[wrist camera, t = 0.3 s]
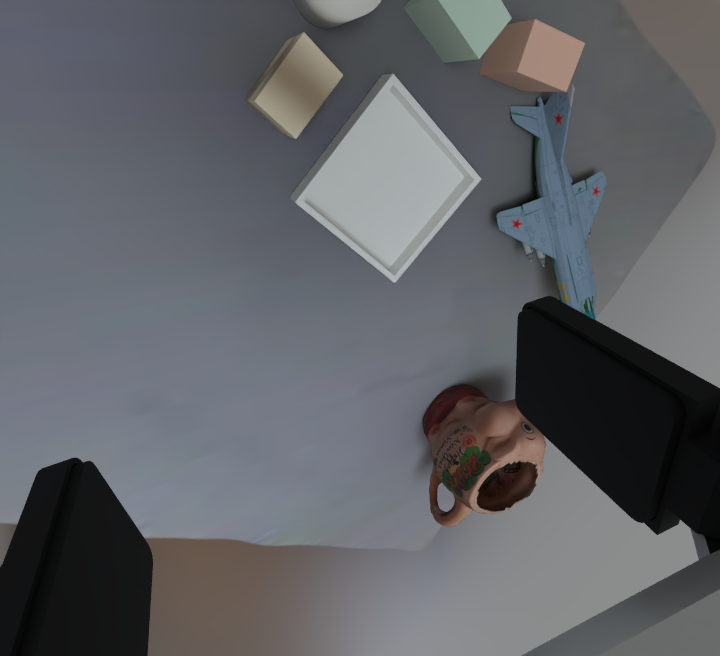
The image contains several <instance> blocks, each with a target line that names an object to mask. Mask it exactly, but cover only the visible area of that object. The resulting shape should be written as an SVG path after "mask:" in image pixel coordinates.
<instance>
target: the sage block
mask: <svg viewBox="0 0 720 656" xmlns="http://www.w3.org/2000/svg"><path fill="white" fill-rule="evenodd" d="M404 10H405V11H406V12H407V14H408V15H409V16H410V18H411V19H412V21H413V22H414V23H415V25H416V26H417V27H418V29H419V30H420V31H421V33H422V34H423V35H424V37H425V38H426V39H427V41H428V42H429V43H430V45H431V46H432V47H433V49H434V50H435V51H436V53H437V54H438V55H439V57H440V58H441V59H442V61H443V62H444V63H448V62H458V61H468V60H478V59H480V58H481V56H482V55H483V54H484V53H485V51H486V50H487V49H488V48H489V46H490V45H491V44H492V43H493V41H494V40H495V39H496V37H497V36H498V35H499V34H500V32H501V31H502V30H503V29H504V27H505V26H506V25H507V24H508V22H509V21H510V20H511V19H512V18H511V16H510V14H509V13H508V11H507V9H506V8H505V6H504V4H503V3H502V1H501V0H409V2H408V3H407V4H406V6H405V7H404Z"/></svg>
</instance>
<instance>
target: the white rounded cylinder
mask: <svg viewBox="0 0 720 656" xmlns="http://www.w3.org/2000/svg"><path fill="white" fill-rule="evenodd" d="M294 2H295V5H296V7H297V9H298V10H299V12H300V13H301V15H302V16H303V17H304V18H305V19H306V20H307V21H308V22H310V23H311V24H313V25H314V26H317V27H320V28H326V29H328V28H334V27H337V26H339V25H342V24H344V23H347V22H349V21H352V20H354V19H356V18H359V17H361V16H364V15H366V14H368V13H370V12H371V11H373V10H374V9H375V8H376V7H377V6H378V4H379V3H380V2H381V0H294Z"/></svg>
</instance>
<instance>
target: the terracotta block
mask: <svg viewBox="0 0 720 656" xmlns="http://www.w3.org/2000/svg"><path fill="white" fill-rule="evenodd" d="M584 45H585V43H584V42H582V41H580V40H578V39H575V38H573V37H571V36H569V35H567V34H565V33H563V32H561V31H559V30H557V29H555V28H553V27H551V26H549V25H547V24H544V23H542V22H540V21H538V20H536V19H533V20H528V21H523V22H518V23H513V24H508V25H506V26H505V27H504V29H503V30H502V31H501V32H500V34H499V35H498V36H497V37H496V39H495V40H494V41H493V43H492V44H491V45H490V46H489V48H488V49H487V50H486V53H485V56H484V59H483V62H482V66H481V69H480V72H479V74H480V75H483V76H485V77H488V78H490V79H493V80H496V81H498V82H501V83H503V84H506V85H508V86H511V87H514V88H516V89H519V90H521V91H524V92H567V89H568V86H569V84H570V81H571V79H572V76H573V73H574V71H575V68H576V66H577V63H578V60H579V58H580V55H581V53H582V50H583V47H584Z"/></svg>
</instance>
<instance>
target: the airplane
mask: <svg viewBox="0 0 720 656" xmlns="http://www.w3.org/2000/svg"><path fill="white" fill-rule="evenodd" d="M574 89H575V88H574V86H573V85H572V84H571V83H570V84H569V86H568V89H567V92H553V93H552V95H551V96H550V98H549V100H548V101H547V103H546V104H545V105H544V104H543V102H542V99H541V97H539V98H538V101H537V107H531V106H510V108H511V115H512V119H513V122H515V123H516V124H518V125H519V126H521V127H523V128H524V129H526V130H527V131H529V132H531V133H532V134H534V135H535V169H536V181H535V182H534V184H535V188H536V191H537V197H538V199H537V200H534V201H531V202H529V203H526V204H523V205H522V206H523V209H522V206H519V207H516V208H512V209H508V210H505V211H501V212H499V214H498V213H497V225H498V227H499V229H500V231H502V232H504V233H506V234H508V235H510V236H511V237H513V238H515V239H517V240H519V241H521V242H522V244H523V247H524V251H525V254H526V255H527V257H528V258H529V260H530V261H531V263H532V254H533V248H534V249H535V251H536V254H537V258H538V260H539V261H540V262H541V264H542V265H543V267H544V265H545V254H546V255H548V256H550V258H551V263H552V267H553V271H554V276H555V280H556V284H557V289H558V293H559V298H560V301H561V302H563V303H565V304H567V305H569V306H570V307H572V308H574V309H576V310H578V311H580V312H581V313H583V314H585V315H587V316H589V317H591V318H592V319H594V320H595V314H594V305H595V297H596V294H595V291H596V286H595V281H594V277H593V272H592V268H591V263H590V259H589V254H588V249H587V248H586V247H585V245H586V239H587V236H589V237H590V233H591V226H592V223H593V221H594V218H595V215H596V213H597V210H598V207H599V205H600V202H601V199H602V197H603V194H604V191H605V189H606V178H605V175H604V173H603V172H601V171H600V172H598V173H597V174H595V175H593V176H591V177H590V178H588V179H586V181H587V182H586V184H585V180H583V181H581V182H578V183H576V184H574V185H571V183H572V179H571V177H570V176H569V173H568V170H567V167H566V164H565V161H564V157H563V156H564V150H565V144H566V138H567V132H568V125H569V119H570V113H571V107H572V101H573V95H574ZM512 112H513V113H512ZM516 113H518V114H516ZM601 169H602V168H601ZM587 184H588V185H587ZM588 187H589V188H588ZM577 193H578V194H577ZM575 194H576V195H575ZM523 210H524V212H523ZM533 211H534V212H533ZM530 212H531V213H530ZM524 214H526V215H524ZM519 215H521V216H519ZM508 216H510V217H508Z"/></svg>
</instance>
